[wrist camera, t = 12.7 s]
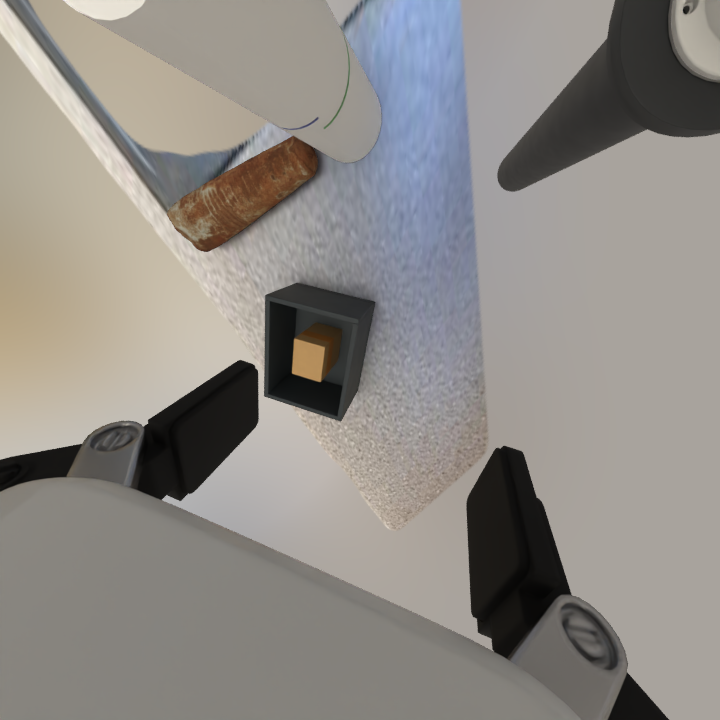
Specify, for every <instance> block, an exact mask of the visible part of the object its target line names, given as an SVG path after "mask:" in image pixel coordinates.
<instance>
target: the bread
mask: <svg viewBox="0 0 720 720" xmlns="http://www.w3.org/2000/svg"><path fill="white" fill-rule="evenodd" d="M317 167H318V159H317V155H316V153H315V150H314V149H313V147H312V146H311V145H309V144H307V143H305V142H304V141H302V140H300V139H298V138H297V137H295V136H292V137H290V138H289V139H287V140H285V141H283V142H282V143H280V144H278V145H276V146H274V147H272V148H270V149H268V150H266V151H263V152H262V153H260V154H258V155H257V156H255V157H253V158H251V159H249V160H247V161H245V162H244V163H242V164H240V165H238V166H237V167H235V168H233V169H231V170H229V171H227V172H225V173H224V174H222V175H220V176H219V177H217V178H215V179H213V180H210V181H209V182H207V183H205V184H204V185H202V186H201V187H200V188H198V189H196V190H194V191H193V192H191V193H189V194H187V195H186V196H184V197H183V198H182V199H180V200H179V201H178V202H176V203H175V204H174V205H173V206H172V207H171V208H170V209H169V210H168V213H167V215H168V217H169V219H170V221H171V222H172V224H173V225H174V227H175V229H176V230H177V231H178V232H179V233H181V234H182V236H184V237H185V238H186V239H188V240H189V241H191V242H192V243H193V245H194V246H195V247H196V248H197V249H198V250H201V251H204V252H208V251H211V250H212V249H214V248H217V247H218V246H220V245H222V244H223V243H225V242H226V241H228V240H229V239H230V238H231V237H233V236H234V235H236V234H238V233H239V232H241V231H242V230H243V229H245V228H246V227H247V226H249V225H250V224H251V223H253V222H254V221H256V220H257V219H258V218H259V217H260V216H262V215H263V214H264V213H266V212H267V211H268V210H270V209H271V208H272V207H274V206H275V205H276V204H278V203H279V202H280V201H282V200H283V199H284V198H286V197H287V196H288V195H290V194H291V193H292V192H293V191H295V190H296V189H297V188H298V187H300V186H301V185H302V184H303V183H304V182H306V181H307V180H309V179H310V178H311V177H313V176H314V175H315V173H316V170H317Z"/></svg>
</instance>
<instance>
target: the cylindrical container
mask: <svg viewBox="0 0 720 720" xmlns="http://www.w3.org/2000/svg"><path fill="white" fill-rule="evenodd" d="M63 1H64V2H66V3H67V4H68V5H69V6H71V7H72V8H73V9H75V10H76V11H78V12H79V13H81V14H83V15H85V16H86V17H88V18H90V19H92V20H93V21H95V22H97V23H99V24H100V25H102V26H104V27H106V28H107V29H109V30H111V31H113V32H114V33H116V34H118V35H120V36H121V37H123V38H125V39H127V40H128V41H130V42H132V43H134V44H135V45H137V46H139V47H140V48H142V49H144V50H146V51H147V52H149V53H151V54H153V55H155V56H156V57H158V58H160V59H162V60H163V61H165V62H167V63H168V64H170V65H172V66H174V67H175V68H177V69H179V70H181V71H182V72H184V73H186V74H188V75H189V76H191V77H193V78H194V79H196V80H198V81H200V82H202V83H203V84H205V85H207V86H209V87H210V88H212V89H214V90H216V91H217V92H219V93H221V94H222V95H224V96H226V97H227V98H229V99H231V100H233V101H234V102H236V103H238V104H239V105H241V106H243V107H245V108H246V109H249V110H250V111H252V112H253V113H255V114H257V115H258V116H260V117H262V118H264V119H265V120H267V121H269V122H270V123H272V124H274V125H276V126H277V127H279V128H281V129H283V130H284V131H286V132H288V133H290V134H291V135H293V136H295V137H297V138H298V139H300V140H302V141H304V142H305V143H307V144H309V145H311V146H312V147H314V148H316V149H318V150H319V151H321V152H323V153H324V154H326V155H328V156H329V157H331V158H333V159H335V160H337V161H339V162H343V163H353V162H356V161H358V160H360V159H362V158H363V157H365V156H366V155H367V154H368V153H369V152H370V151H371V149H372V148H373V147H374V145H375V143H376V141H377V139H378V136H379V133H380V128H381V121H382V113H381V106H380V102H379V99H378V96H377V94H376V92H375V90H374V89H373V87H372V85H371V83H370V81H369V79H368V78H367V76H366V74H365V72H364V70H363V68H362V66H361V65H360V63H359V61H358V59H357V57H356V55H355V54H354V52H353V50H352V48H351V46H350V44H349V42H348V41H347V39H346V37H345V35H344V33H343V31H342V30H341V28H340V26H339V24H338V22H337V21H336V19H335V17H334V15H333V13H332V11H331V9H330V8H329V6H328V4H327V2H326V0H63Z"/></svg>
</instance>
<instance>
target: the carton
mask: <svg viewBox="0 0 720 720" xmlns="http://www.w3.org/2000/svg"><path fill="white" fill-rule="evenodd" d="M342 331H343V330H342V329H339V328H335V327H331V326H328V325H324V324H320V323H317V322H316V323H314V324H313V325H312V326H310V327H309V328H308V329H306V330H305V331H303V332H302V333H301V334H300V335H298V336H297V337H296V338H294V350H293V365H292V374H295V375H298V376H302V377H305V378H308V379H311V380H315V381H318V382H321V381H322V380H323V379H324V377H325V376H326V375H327V374H328V373H329V371H330V370H331V369H332V367H333V366H334V365H335V364H336V362H337V361H338V357H339V350H340V344H341V337H342Z"/></svg>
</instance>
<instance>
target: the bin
mask: <svg viewBox="0 0 720 720" xmlns="http://www.w3.org/2000/svg"><path fill="white" fill-rule="evenodd" d="M374 306H375V302H373V301H369V300H365V299H361V298H357V297H352V296H348V295H344V294H340V293H336V292H332V291H328V290H324V289H320V288H316V287H312V286H308V285H304V284H300V283H295V284H293V285H290V286H288V287H285V288H282V289H280V290H277V291H275V292H272V293H269V294H267V295H265V377H264V396H265V397H268V398H271V399H274V400H277V401H280V402H283V403H286V404H289V405H292V406H295V407H298V408H301V409H305V410H308V411H311V412H314V413H317V414H320V415H323V416H326V417H329V418H332V419H335V420H338V421H342V419H343V417H344V415H345V413H346V411H347V409H348V408H349V406H350V404H351V402H352V400H353V398H354V396H355V395H356V393H357V391H358V386H359V381H360V376H361V371H362V366H363V361H364V356H365V351H366V346H367V341H368V336H369V331H370V326H371V321H372V316H373V311H374ZM316 322H317V323H320V324H324V325H328V326H331V327H335V328H339V329H342V330H343V331H342V337H341V344H340V350H339V357H338V361H337V362H336V364H335V365H334V366H333V367H332V369H331V370H330V371H329V373H328V374H327V375H326V376H325V377H324V379H323V380H322V381H321V382H318V381H315V380H311V379H308V378H305V377H302V376H298V375H295V374H292V365H293V350H294V338H296V337H297V336H298V335H300V334H301V333H302V332H303V331H305V330H306V329H308V328H309V327H310V326H312V325H313V324H314V323H316Z"/></svg>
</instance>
